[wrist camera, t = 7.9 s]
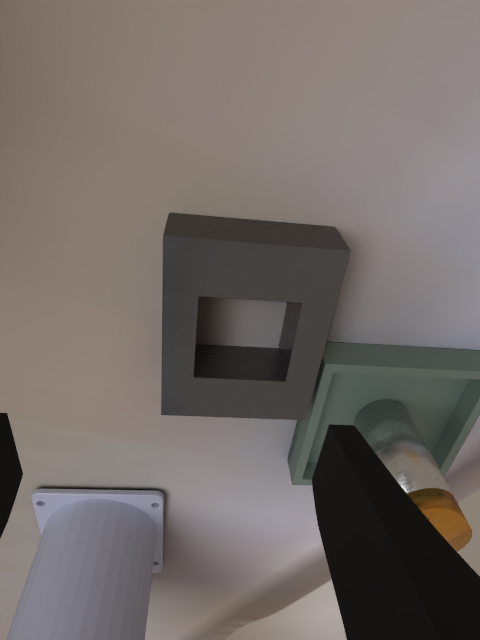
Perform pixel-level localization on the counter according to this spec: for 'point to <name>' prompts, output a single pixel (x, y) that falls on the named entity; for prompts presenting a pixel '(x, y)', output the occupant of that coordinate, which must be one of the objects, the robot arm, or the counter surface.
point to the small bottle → (413, 466)
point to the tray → (391, 397)
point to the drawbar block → (255, 284)
